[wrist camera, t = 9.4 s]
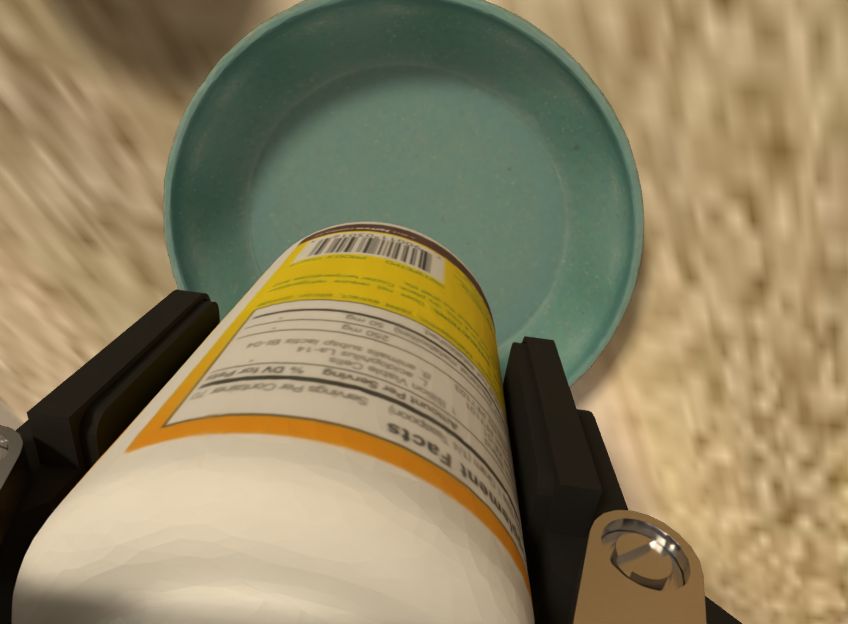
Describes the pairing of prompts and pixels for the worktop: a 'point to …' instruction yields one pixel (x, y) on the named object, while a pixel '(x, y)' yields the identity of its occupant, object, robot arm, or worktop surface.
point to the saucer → (414, 161)
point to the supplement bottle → (308, 461)
